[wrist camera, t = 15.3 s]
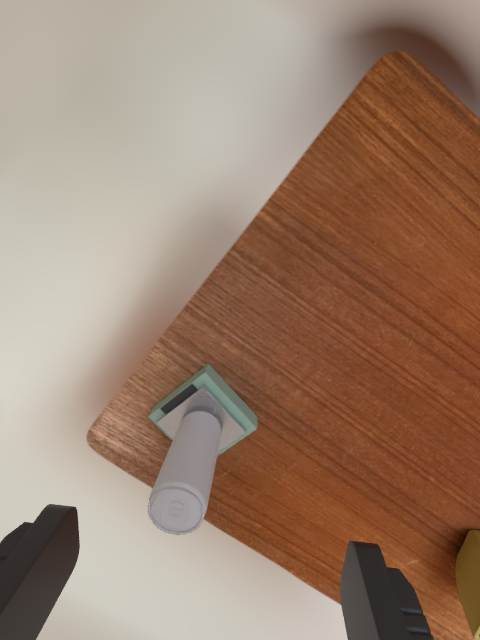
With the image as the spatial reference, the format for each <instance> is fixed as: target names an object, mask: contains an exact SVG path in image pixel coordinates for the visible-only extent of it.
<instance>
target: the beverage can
mask: <svg viewBox="0 0 480 640" xmlns="http://www.w3.org/2000/svg"><path fill="white" fill-rule="evenodd" d="M220 439H221V427H220V424H219V422H218V420H217V419H216V418H215V417H214V416H213V415H211V414H210V413H207V412H204V411H195V412H192V413H189V414H188V415H186V416H185V417H184V418H183V419H182V420H181V422H180V424H179V427H178V429H177V432H176V434H175V436H174V439H173V441H172V444H171V446H170V448H169V451H168V453H167V456H166V458H165V460H164V463H163V465H162V468H161V470H160V473H159V475H158V478H157V480H156V482H155V485H154V487H153V490H152V492H151V495H150V498H149V505H148V514H149V517H150V519H151V521H152V522H153V524H154V525H155V526H156V527H157V528H159V529H160V530H162V531H164V532H166V533H169V534H175V535H182V534H183V535H184V534H188V533H191V532H193V531H194V530H196V529H197V528H198V527H199V526H200V525H201V523H202V521H203V518H204V516H205V514H206V511H207V506H208V501H209V496H210V491H211V485H212V480H213V475H214V470H215V464H216V459H217V454H218V449H219V444H220Z"/></svg>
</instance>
